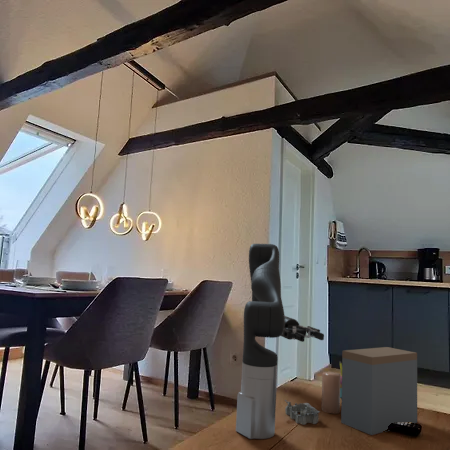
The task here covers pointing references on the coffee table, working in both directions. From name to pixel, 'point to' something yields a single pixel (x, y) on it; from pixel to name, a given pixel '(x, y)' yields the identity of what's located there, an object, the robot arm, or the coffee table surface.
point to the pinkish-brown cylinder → (330, 392)
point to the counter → (378, 388)
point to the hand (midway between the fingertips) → (313, 338)
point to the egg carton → (302, 413)
